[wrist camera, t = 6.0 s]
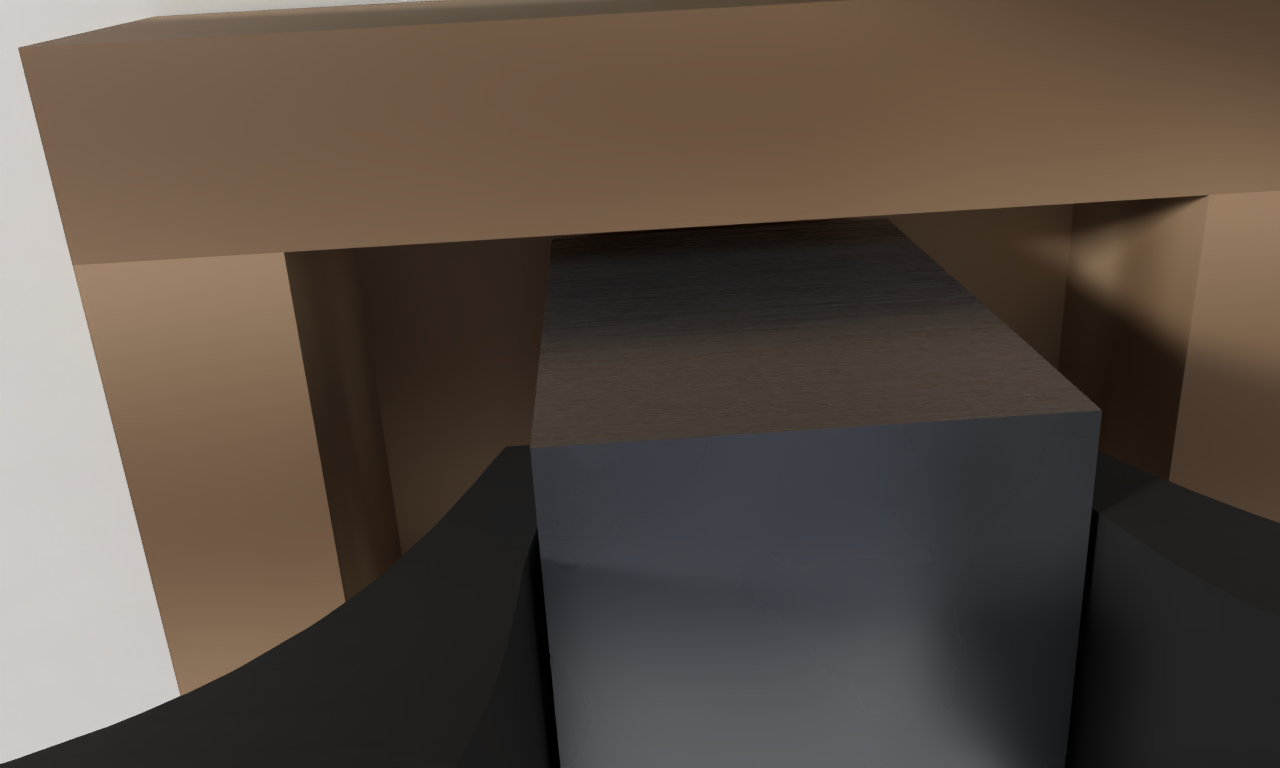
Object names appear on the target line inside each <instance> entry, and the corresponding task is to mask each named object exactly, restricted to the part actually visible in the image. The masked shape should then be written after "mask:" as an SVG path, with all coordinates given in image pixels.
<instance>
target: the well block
mask: <svg viewBox="0 0 1280 768" xmlns="http://www.w3.org/2000/svg"><path fill="white" fill-rule="evenodd" d="M18 49H19V53H20V57H21V61H22V65H23V69H24V73H25V77H26V81H27V85H28V89H29V93H30V97H31V101H32V105H33V109H34V113H35V117H36V121H37V125H38V129H39V133H40V137H41V141H42V145H43V149H44V153H45V157H46V161H47V165H48V169H49V173H50V177H51V181H52V185H53V189H54V193H55V197H56V201H57V205H58V209H59V213H60V217H61V221H62V225H63V229H64V233H65V237H66V241H67V245H68V249H69V253H70V257H71V261H72V265H73V269H74V273H75V277H76V281H77V285H78V289H79V293H80V297H81V301H82V305H83V309H84V313H85V317H86V321H87V325H88V329H89V333H90V337H91V341H92V344H93V348H94V352H95V356H96V360H97V364H98V368H99V372H100V376H101V380H102V384H103V388H104V392H105V396H106V400H107V404H108V408H109V412H110V416H111V420H112V424H113V428H114V432H115V436H116V440H117V444H118V448H119V452H120V456H121V460H122V464H123V468H124V472H125V476H126V480H127V484H128V488H129V492H130V496H131V500H132V504H133V508H134V512H135V516H136V520H137V524H138V528H139V532H140V536H141V540H142V544H143V548H144V552H145V556H146V560H147V564H148V568H149V572H150V576H151V580H152V584H153V588H154V592H155V596H156V600H157V604H158V608H159V612H160V616H161V620H162V624H163V628H164V632H165V636H166V640H167V644H168V648H169V652H170V656H171V660H172V664H173V668H174V672H175V676H176V680H177V684H178V688H179V692H180V696H182V695H184V694H187V693H189V692H191V691H193V690H195V689H197V688H199V687H201V686H203V685H205V684H207V683H209V682H211V681H213V680H215V679H217V678H220V677H222V676H224V675H226V674H228V673H230V672H232V671H234V670H235V669H237V668H239V667H241V666H243V665H245V664H246V663H248V662H250V661H251V660H253V659H255V658H257V657H258V656H260V655H262V654H263V653H265V652H267V651H269V650H270V649H272V648H274V647H275V646H277V645H279V644H281V643H282V642H284V641H286V640H288V639H289V638H291V637H293V636H294V635H296V634H298V633H300V632H301V631H303V630H305V629H306V628H308V627H310V626H311V625H313V624H314V623H316V622H317V621H319V620H321V619H322V618H324V617H325V616H326V615H328V614H329V613H331V612H332V611H333V610H335V609H336V608H338V607H339V606H340V605H342V604H343V603H345V602H346V601H347V600H349V599H350V598H352V597H353V596H355V595H356V594H357V593H359V592H360V591H361V590H363V589H364V588H365V587H366V586H368V585H369V584H370V583H371V582H373V581H374V580H375V579H377V578H378V577H379V576H380V575H381V574H383V573H384V572H385V571H386V570H387V569H389V568H390V567H391V566H392V565H393V564H394V563H395V562H396V561H397V560H398V559H399V558H401V557H402V556H403V555H404V554H405V553H406V552H407V551H408V550H409V549H410V548H411V547H412V546H414V545H415V544H416V543H417V542H418V541H419V540H420V539H421V538H422V537H423V536H424V535H425V534H426V533H428V532H429V531H430V530H431V529H432V528H433V527H434V526H435V525H436V523H437V522H438V521H439V520H440V519H441V518H442V517H443V516H444V515H445V514H446V513H447V512H448V511H449V510H450V509H451V508H452V506H453V505H454V504H455V503H456V502H457V501H458V500H459V499H460V498H461V497H462V495H463V494H464V493H465V492H466V491H467V490H468V489H469V487H470V486H471V485H472V484H473V483H474V482H475V480H476V479H477V478H478V477H479V476H480V475H481V473H482V472H483V471H484V470H485V469H486V468H487V466H488V465H489V464H490V463H491V462H492V461H493V460H494V459H495V458H496V457H497V456H498V455H499V453H500V452H501V451H502V450H503V449H504V448H505V447H507V446H522V445H531V435H532V425H533V416H534V406H535V397H536V387H537V377H538V368H539V358H540V349H541V339H542V329H543V320H544V310H545V300H546V291H547V281H548V272H549V262H550V252H551V243H552V239H563V238H580V237H596V236H612V235H628V234H644V233H660V232H676V231H692V230H709V229H725V228H741V227H757V226H773V225H789V224H805V223H821V222H838V221H854V220H870V219H886V218H887V219H888V220H889V221H891V222H892V223H893V224H894V225H895V226H896V227H897V228H898V229H900V230H901V231H902V232H903V233H904V234H905V235H906V236H907V237H908V238H910V239H911V240H912V241H913V242H914V243H915V244H916V245H917V246H919V247H920V248H921V249H922V250H923V251H924V252H925V253H926V254H928V255H929V256H930V257H931V258H932V259H933V260H934V261H935V262H936V263H938V264H939V265H940V266H941V267H942V268H943V269H944V270H945V271H947V272H948V273H949V274H950V275H951V276H952V277H953V278H954V279H956V280H957V281H958V282H959V283H960V284H961V285H962V286H963V287H964V288H966V289H967V290H968V291H969V292H970V293H971V294H972V295H973V296H975V297H976V298H977V299H978V300H979V301H980V302H981V303H982V304H984V305H985V306H986V307H987V308H988V309H989V310H990V311H991V312H993V313H994V314H995V315H996V316H997V317H998V318H999V319H1000V320H1001V321H1003V322H1004V323H1005V324H1006V325H1007V326H1008V327H1009V328H1010V329H1012V330H1013V331H1014V332H1015V333H1016V334H1017V335H1018V336H1019V337H1021V338H1022V339H1023V340H1024V341H1025V342H1026V343H1027V344H1028V345H1029V346H1031V347H1032V348H1033V349H1034V350H1035V351H1036V352H1037V353H1038V354H1040V355H1041V356H1042V357H1043V358H1044V359H1045V360H1046V361H1047V362H1049V363H1050V364H1051V365H1052V366H1053V367H1054V368H1055V369H1056V370H1057V371H1059V372H1060V373H1061V374H1062V375H1063V376H1064V377H1065V378H1066V379H1068V380H1069V381H1070V382H1071V383H1072V384H1073V385H1074V386H1075V387H1077V388H1078V389H1079V390H1080V391H1081V392H1082V393H1083V394H1084V395H1085V396H1087V397H1088V398H1089V399H1090V400H1091V401H1092V402H1093V403H1094V404H1096V405H1097V406H1098V407H1099V408H1100V409H1101V410H1102V416H1101V426H1100V435H1099V445H1098V450H1099V451H1101V452H1103V453H1105V454H1108V455H1110V456H1112V457H1114V458H1117V459H1119V460H1121V461H1124V462H1126V463H1128V464H1130V465H1133V466H1135V467H1137V468H1140V469H1142V470H1144V471H1146V472H1149V473H1151V474H1154V475H1156V476H1158V477H1161V478H1163V479H1165V480H1168V481H1170V482H1173V483H1175V484H1177V485H1180V486H1182V487H1185V488H1187V489H1190V490H1192V491H1195V492H1197V493H1200V494H1202V495H1205V496H1208V497H1210V498H1213V499H1215V500H1218V501H1221V502H1223V503H1226V504H1229V505H1231V506H1234V507H1237V508H1239V509H1242V510H1245V511H1247V512H1250V513H1252V514H1255V515H1258V516H1261V517H1264V518H1267V519H1270V520H1273V521H1276V522H1279V523H1280V0H440V1H422V2H404V3H387V4H369V5H351V6H334V7H316V8H298V9H281V10H263V11H245V12H227V13H210V14H192V15H174V16H157V17H151V18H147V19H142V20H138V21H134V22H129V23H125V24H121V25H116V26H112V27H107V28H103V29H99V30H94V31H90V32H85V33H81V34H77V35H72V36H68V37H64V38H59V39H55V40H50V41H46V42H42V43H37V44H33V45H28V46H24V47H20V48H18Z"/></svg>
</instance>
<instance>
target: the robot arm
mask: <svg viewBox="0 0 1280 768" xmlns="http://www.w3.org/2000/svg"><path fill="white" fill-rule="evenodd" d="M0 768H561V767H560V757H559V746H558V736H557V725H556V715H555V704H554V694H553V683H552V673H551V662H550V652H549V641H548V631H547V621H546V610H545V600H544V589H543V579H542V568H541V558H540V547H539V537H538V526H537V516H536V505H535V495H534V484H533V474H532V463H531V453H530V445H522V446H507V447H505V448H504V449H503V450H502V451H501V452H500V453H499V455H498V456H497V457H496V458H495V459H494V460H493V461H492V462H491V463H490V464H489V465H488V466H487V468H486V469H485V470H484V471H483V472H482V473H481V475H480V476H479V477H478V478H477V479H476V480H475V482H474V483H473V484H472V485H471V486H470V487H469V489H468V490H467V491H466V492H465V493H464V494H463V495H462V497H461V498H460V499H459V500H458V501H457V502H456V503H455V504H454V505H453V506H452V508H451V509H450V510H449V511H448V512H447V513H446V514H445V515H444V516H443V517H442V518H441V519H440V520H439V521H438V522H437V523H436V525H435V526H434V527H433V528H432V529H431V530H430V531H429V532H428V533H426V534H425V535H424V536H423V537H422V538H421V539H420V540H419V541H418V542H417V543H416V544H415V545H414V546H412V547H411V548H410V549H409V550H408V551H407V552H406V553H405V554H404V555H403V556H402V557H401V558H399V559H398V560H397V561H396V562H395V563H394V564H393V565H392V566H391V567H390V568H389V569H387V570H386V571H385V572H384V573H383V574H381V575H380V576H379V577H378V578H377V579H375V580H374V581H373V582H371V583H370V584H369V585H368V586H366V587H365V588H364V589H363V590H361V591H360V592H359V593H357V594H356V595H355V596H353V597H352V598H350V599H349V600H347V601H346V602H345V603H343V604H342V605H340V606H339V607H338V608H336V609H335V610H333V611H332V612H331V613H329V614H328V615H326V616H325V617H324V618H322V619H321V620H319V621H317V622H316V623H314V624H313V625H311V626H310V627H308V628H306V629H305V630H303V631H301V632H300V633H298V634H296V635H294V636H293V637H291V638H289V639H288V640H286V641H284V642H282V643H281V644H279V645H277V646H275V647H274V648H272V649H270V650H269V651H267V652H265V653H263V654H262V655H260V656H258V657H257V658H255V659H253V660H251V661H250V662H248V663H246V664H245V665H243V666H241V667H239V668H237V669H235V670H234V671H232V672H230V673H228V674H226V675H224V676H222V677H220V678H217V679H215V680H213V681H211V682H209V683H207V684H205V685H203V686H201V687H199V688H197V689H195V690H193V691H191V692H189V693H187V694H184V695H182V696H180V697H177V698H175V699H173V700H171V701H168V702H166V703H164V704H161V705H159V706H157V707H155V708H152V709H150V710H148V711H146V712H143V713H141V714H138V715H136V716H134V717H131V718H129V719H126V720H124V721H121V722H119V723H116V724H114V725H111V726H109V727H106V728H103V729H100V730H97V731H94V732H92V733H89V734H86V735H83V736H80V737H77V738H75V739H72V740H69V741H66V742H63V743H60V744H58V745H55V746H52V747H49V748H46V749H43V750H41V751H38V752H35V753H32V754H29V755H26V756H24V757H21V758H18V759H15V760H12V761H9V762H6V763H3V764H0ZM1065 768H1280V523H1279V522H1276V521H1273V520H1270V519H1267V518H1264V517H1261V516H1258V515H1255V514H1252V513H1250V512H1247V511H1245V510H1242V509H1239V508H1237V507H1234V506H1231V505H1229V504H1226V503H1223V502H1221V501H1218V500H1215V499H1213V498H1210V497H1208V496H1205V495H1202V494H1200V493H1197V492H1195V491H1192V490H1190V489H1187V488H1185V487H1182V486H1180V485H1177V484H1175V483H1173V482H1170V481H1168V480H1165V479H1163V478H1161V477H1158V476H1156V475H1154V474H1151V473H1149V472H1146V471H1144V470H1142V469H1140V468H1137V467H1135V466H1133V465H1130V464H1128V463H1126V462H1124V461H1121V460H1119V459H1117V458H1114V457H1112V456H1110V455H1108V454H1105V453H1103V452H1101V451H1099V450H1098V454H1097V464H1096V474H1095V483H1094V493H1093V502H1092V512H1091V522H1090V531H1089V541H1088V550H1087V560H1086V570H1085V579H1084V589H1083V599H1082V608H1081V618H1080V627H1079V637H1078V647H1077V656H1076V666H1075V675H1074V685H1073V695H1072V704H1071V714H1070V724H1069V733H1068V743H1067V752H1066V762H1065Z"/></svg>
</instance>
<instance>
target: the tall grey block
mask: <svg viewBox="0 0 1280 768" xmlns="http://www.w3.org/2000/svg"><path fill="white" fill-rule="evenodd" d="M1101 416H1102V410H1101V409H1100V408H1099V407H1098V406H1097V405H1096V404H1094V403H1093V402H1092V401H1091V400H1090V399H1089V398H1088V397H1087V396H1085V395H1084V394H1083V393H1082V392H1081V391H1080V390H1079V389H1078V388H1077V387H1075V386H1074V385H1073V384H1072V383H1071V382H1070V381H1069V380H1068V379H1066V378H1065V377H1064V376H1063V375H1062V374H1061V373H1060V372H1059V371H1057V370H1056V369H1055V368H1054V367H1053V366H1052V365H1051V364H1050V363H1049V362H1047V361H1046V360H1045V359H1044V358H1043V357H1042V356H1041V355H1040V354H1038V353H1037V352H1036V351H1035V350H1034V349H1033V348H1032V347H1031V346H1029V345H1028V344H1027V343H1026V342H1025V341H1024V340H1023V339H1022V338H1021V337H1019V336H1018V335H1017V334H1016V333H1015V332H1014V331H1013V330H1012V329H1010V328H1009V327H1008V326H1007V325H1006V324H1005V323H1004V322H1003V321H1001V320H1000V319H999V318H998V317H997V316H996V315H995V314H994V313H993V312H991V311H990V310H989V309H988V308H987V307H986V306H985V305H984V304H982V303H981V302H980V301H979V300H978V299H977V298H976V297H975V296H973V295H972V294H971V293H970V292H969V291H968V290H967V289H966V288H964V287H963V286H962V285H961V284H960V283H959V282H958V281H957V280H956V279H954V278H953V277H952V276H951V275H950V274H949V273H948V272H947V271H945V270H944V269H943V268H942V267H941V266H940V265H939V264H938V263H936V262H935V261H934V260H933V259H932V258H931V257H930V256H929V255H928V254H926V253H925V252H924V251H923V250H922V249H921V248H920V247H919V246H917V245H916V244H915V243H914V242H913V241H912V240H911V239H910V238H908V237H907V236H906V235H905V234H904V233H903V232H902V231H901V230H900V229H898V228H897V227H896V226H895V225H894V224H893V223H892V222H891V221H889V220H888V219H887V218H886V219H870V220H854V221H838V222H821V223H805V224H789V225H773V226H757V227H741V228H725V229H709V230H692V231H676V232H660V233H644V234H628V235H612V236H596V237H580V238H563V239H552V243H551V252H550V262H549V272H548V281H547V291H546V300H545V310H544V320H543V329H542V339H541V349H540V358H539V368H538V377H537V387H536V397H535V406H534V416H533V425H532V435H531V445H530V453H531V463H532V474H533V484H534V495H535V505H536V516H537V526H538V537H539V547H540V558H541V568H542V579H543V589H544V600H545V610H546V621H547V631H548V641H549V652H550V662H551V673H552V683H553V694H554V704H555V715H556V725H557V736H558V746H559V757H560V767H561V768H1065V762H1066V752H1067V743H1068V733H1069V724H1070V714H1071V704H1072V695H1073V685H1074V675H1075V666H1076V656H1077V647H1078V637H1079V627H1080V618H1081V608H1082V599H1083V589H1084V579H1085V570H1086V560H1087V550H1088V541H1089V531H1090V522H1091V512H1092V502H1093V493H1094V483H1095V474H1096V464H1097V454H1098V445H1099V435H1100V426H1101Z"/></svg>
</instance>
